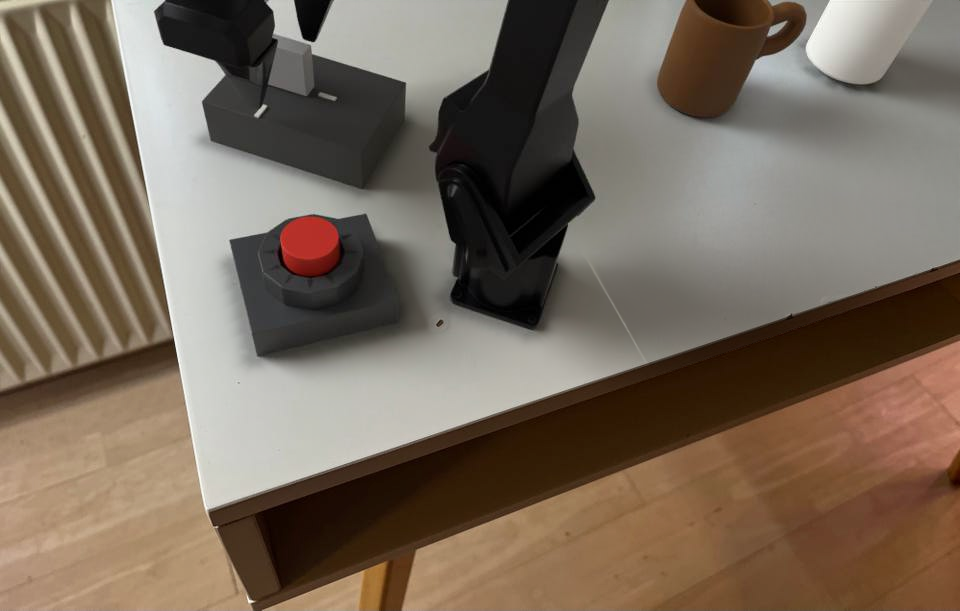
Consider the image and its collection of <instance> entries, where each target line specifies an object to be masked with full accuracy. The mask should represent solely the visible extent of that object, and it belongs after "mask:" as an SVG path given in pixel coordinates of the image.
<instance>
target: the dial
mask: <svg viewBox="0 0 960 611" xmlns="http://www.w3.org/2000/svg"><path fill="white" fill-rule="evenodd" d="M272 38H275V39H278V44H277V48H276V53H275V57H274V61H273V65H272V69H271V73H270V78H269V82H268V85H271V86H274V87H277V88H281V89H284V90H287V91H290V92H294V93H297V94H300V95H303V96H308V94H309V93H310V92H311V90H312V89H313V88H314V75H313V62H312V54H313V52H312V45H311V44H309V43H306V42H302V41H300V40H296V39H292V38H290V37H286V36H283V35H279V34H276V33H273V36H272Z"/></svg>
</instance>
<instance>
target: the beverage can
mask: <svg viewBox="0 0 960 611" xmlns="http://www.w3.org/2000/svg"><path fill="white" fill-rule="evenodd" d="M933 1H934V0H829V1H828V3H827V5H826V7H825V9H824V10H823V13H822V15H821V16H820V18H819V20H818V22H817V24H816V26H815V27H814V29H813V30H812V33H811V35H810V37H809V39H808V41H807V43H806V44H805V53H806V56H807V58H808V59H809V61H810V62H811V64H812V65H813V66H814V67H815V68H817V69H818V70H819V71H820V72H822V74H824V75H826V76H828V77H830V78H831V79H834V80H836V81H839V82H843V83H847V84H853V85H868V84H874V83H876V82H878V81H879V80H881V79H882V78H883V77H884V76H885V74H886V73H887V71H888V69H889V68H890V66H891V65H892V64H893V62H894V60H895V59H896V58H897V56H898V54H899V53H900V51H901V49H902V48H903V47H904V46H905V44H906V42H907V40H908V39H909V37H910V36H911V34H912V33H913V32H914V30H915V29H916V27H917V26H918V24H919V22H920V21H921V20H922V18H923V17H924V15H925V13H926V12H927V10H928V9H929V8H930V6H931V4H932V3H933Z"/></svg>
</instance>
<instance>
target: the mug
mask: <svg viewBox="0 0 960 611" xmlns="http://www.w3.org/2000/svg"><path fill="white" fill-rule="evenodd" d="M807 18H808V13H807V11H806V9H805V6H804V5H802V4H800V3H798V2H795V1H782V2H779V3H777V4H774V5H772V4H771V2H770V1H769V0H685V2H684V3H683V6H682V8H681V11H680V12H679V15H678V19H677V22H676V24H675V27H674V30H673V32H672V35H671V38H670V40H669V43H668V46H667V49H666V52H665V54H664V58H663V60H662V63H661V65H660V68H659V72H658V74H657V79H656V80H657V81H656V85H657V90H658V93H659V95H660V96H661V98H662V99H663V100H664V101H665V102H666V104H668V105H669V106H671V107H672V108H673V109H675V110H676V111H679V112H680V113H683V114H685V115H688V116H691V117H696V118H714V117H719V116H721V115H723V114H726V113H727V112H728V111H729V110H730V109H731V108H732V107H733V105H735V103H736V102H737V99H738V97H739V95H740V93H741V91H742V89H743V87H744V85H745V83H746V81H747V79H748V77H749V75H750V73H751V71H752V69H753V67H754V64H755V63H756V61H757V60H759V59H761V58H762V57H767V56H771V55H772V56H773V55H776V54H778V53H781V52H782V51H784V50H786V49H787V48H788V47H790V46H791V45H792V44H793V43H794V42H796V40H797V39H798V38H800V36H801V34H802V33H803V31H804V29H805V27H806V25H807V21H808V20H807ZM782 23H784V25H783V26H782V27H781V28H780V29H779V30H778V31H777V32H775V33H774V34H771V35H769V32H770V29H771V28H773V27H774V26H777V25H779V24H782Z"/></svg>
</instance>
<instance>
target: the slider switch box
mask: <svg viewBox="0 0 960 611" xmlns="http://www.w3.org/2000/svg"><path fill="white" fill-rule="evenodd" d="M312 62H313V75H314V88H313V89H312V90H311V92H310V93H309V94H308V96H303V95H300V94H297V93H294V92H290V91H287V90H284V89H281V88H277V87H274V86H271V85H268V86H267V90H266V94H265V98H264V101H263V105H262V107H261V108H260V109H259V110H256V109H253V108H250V107H248V106H246V105H245V103H244V102H243V100H242V99H241V97H240V96H239V94H238V93H237V91H236V90H235V88H234V87H233V85H232V84H231V82H230V81H229V79H228V78H227V76H226V75H225V74H224V76H223V77H222V78H221V79H220V80H219V81H218V82H217V84H216V85H215V86H214V87H213V88H212V89H211V91H209V93H207V95H206V96H205V97H204V98H203V99H202V100H201V104H202V109H203V113H204V117H205V122H206V126H207V127H206V128H207V131H208V135H209V139H210V141H211V142H213V143H215V144H219V145H222V146H225V147H229V148H231V149H234V150H236V151H241V152H244V153H247V154H251V155H254V156H256V157H260V158H263V159H266V160H270V161H272V162H276V163H278V164H281V165H285V166H287V167H288V166H289V167H290V168H294V169H297V170H300V171H303V172H306V173H310V174H313V175H316V176H319V177H323V178H326V179H329V180H331V181H335V182H338V183H342V184H344V185H348V186H351V187H354V188H357V189H360V190H363V189H364V188H365V186H366V185H367V183H368V182H369V180H370V178H371V176H372V175H373V174H374V172H375V170H376V168H377V167H378V165H379V163H380V162H381V160H382V158H383V157H384V155H385V154H386V152H387V151H388V149H389V147H390V146H391V144H392V142H393V141H394V139H395V137H397V134H398V133H399V131H400V130H401V128H402V126H403V124H404V123H405V121H406V120H405V119H406V100H407V99H406V98H407V97H406V96H407V95H406V94H407V82H406V81H402V80H400V79H396V78H392V77H389V76H386V75H382V74H379V73H376V72H373V71H369V70H367V69H363V68H360V67H356V66H353V65H349V64H346V63H343V62H340V61H338V60H337V61H336V60H334V59H330V58H326V57H324V56H320V55H316V54H313V53H312Z"/></svg>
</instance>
